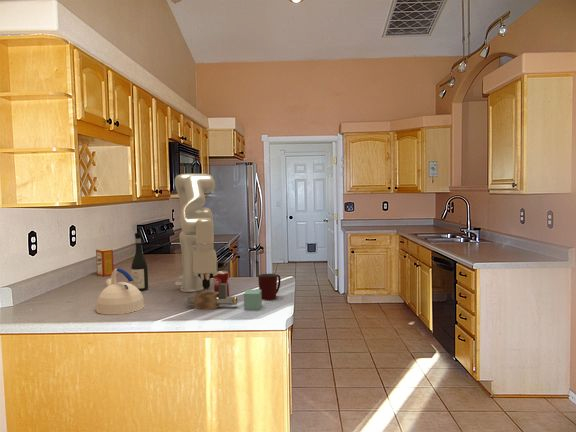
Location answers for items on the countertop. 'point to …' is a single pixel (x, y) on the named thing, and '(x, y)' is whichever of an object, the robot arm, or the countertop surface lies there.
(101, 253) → the baking soda box
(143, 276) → the wine bottle
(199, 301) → the guide sleeve
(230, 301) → the slide bolt
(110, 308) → the kettle
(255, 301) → the socket block
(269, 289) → the mug
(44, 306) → the countertop surface
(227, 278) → the soda can
